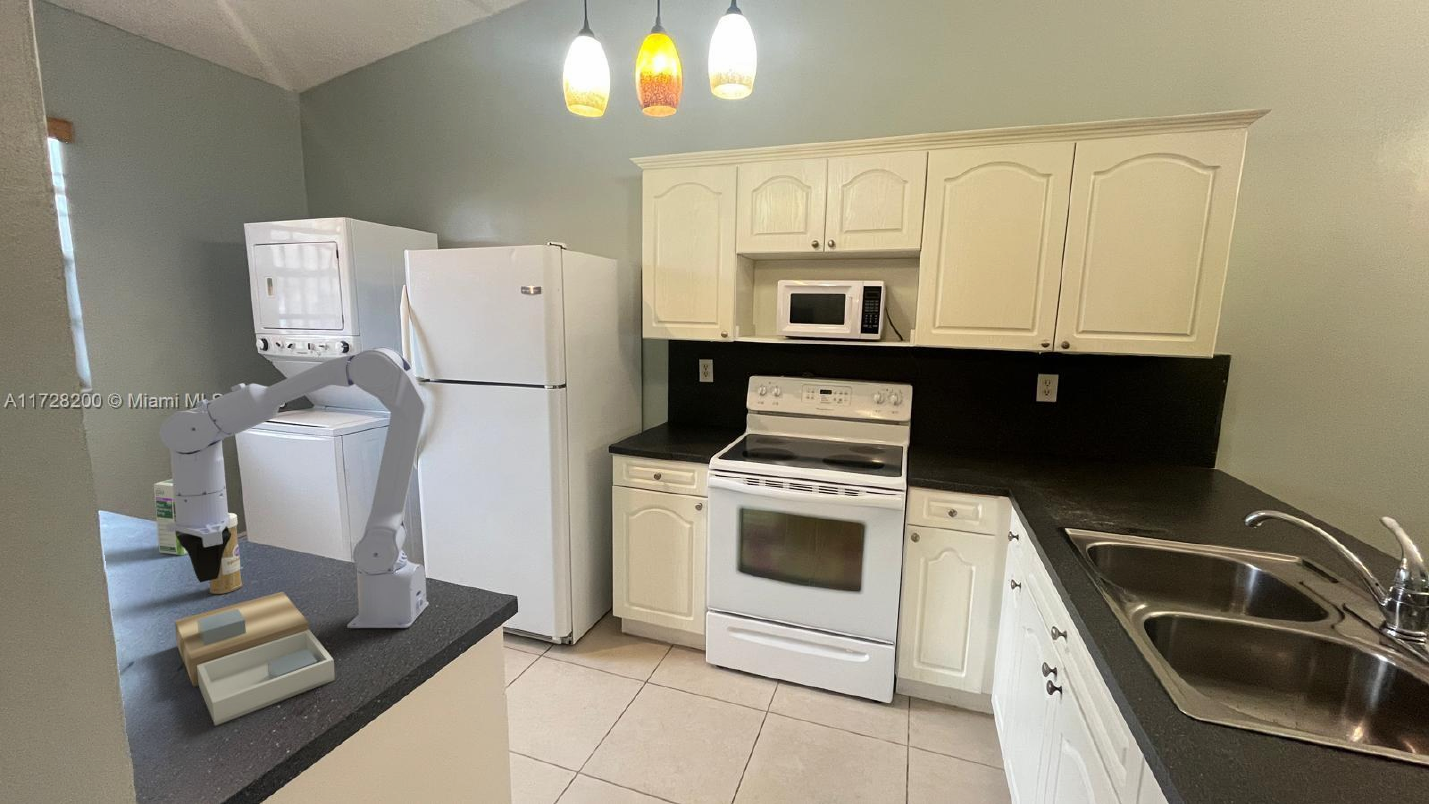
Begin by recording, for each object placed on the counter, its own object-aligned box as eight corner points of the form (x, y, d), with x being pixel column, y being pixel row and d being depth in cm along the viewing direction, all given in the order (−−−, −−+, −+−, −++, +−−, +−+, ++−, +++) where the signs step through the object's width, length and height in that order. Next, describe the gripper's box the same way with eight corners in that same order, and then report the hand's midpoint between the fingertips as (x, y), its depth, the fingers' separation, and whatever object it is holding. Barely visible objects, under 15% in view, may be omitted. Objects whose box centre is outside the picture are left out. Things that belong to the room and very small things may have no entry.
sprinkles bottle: (240, 591, 103) (234, 518, 101) (207, 597, 100) (200, 522, 98) (244, 581, 106) (238, 510, 104) (211, 586, 104) (205, 514, 102)
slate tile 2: (276, 675, 75) (278, 690, 75) (317, 661, 79) (318, 674, 79) (267, 662, 78) (268, 675, 78) (306, 648, 81) (307, 661, 82)
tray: (198, 686, 76) (196, 665, 76) (310, 648, 86) (309, 629, 85) (214, 726, 69) (212, 703, 69) (334, 680, 79) (333, 659, 78)
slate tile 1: (198, 633, 82) (197, 619, 81) (239, 621, 85) (237, 608, 85) (204, 645, 79) (202, 631, 79) (246, 632, 82) (244, 619, 82)
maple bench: (177, 646, 85) (174, 620, 85) (284, 614, 95) (282, 591, 95) (193, 687, 76) (190, 658, 76) (310, 647, 86) (308, 622, 86)
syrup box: (157, 553, 117) (150, 483, 115) (188, 542, 123) (182, 476, 121) (181, 556, 116) (174, 485, 114) (211, 545, 122) (205, 478, 120)
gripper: (156, 485, 86) (164, 572, 88) (170, 508, 77) (179, 604, 79) (217, 477, 92) (224, 559, 93) (238, 497, 82) (245, 588, 84)
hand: (208, 579), depth 86 cm, fingers closed
